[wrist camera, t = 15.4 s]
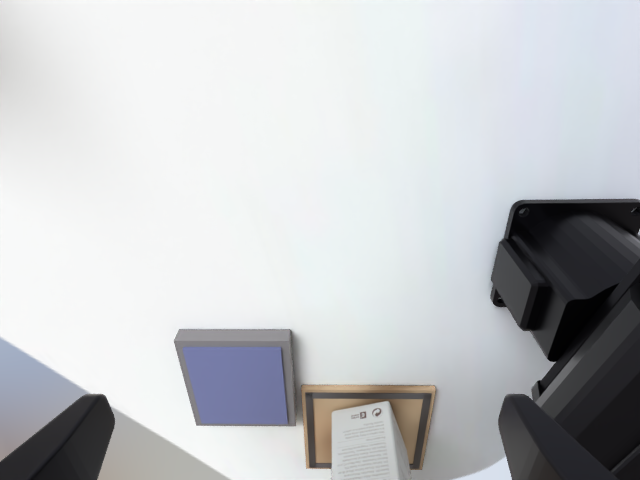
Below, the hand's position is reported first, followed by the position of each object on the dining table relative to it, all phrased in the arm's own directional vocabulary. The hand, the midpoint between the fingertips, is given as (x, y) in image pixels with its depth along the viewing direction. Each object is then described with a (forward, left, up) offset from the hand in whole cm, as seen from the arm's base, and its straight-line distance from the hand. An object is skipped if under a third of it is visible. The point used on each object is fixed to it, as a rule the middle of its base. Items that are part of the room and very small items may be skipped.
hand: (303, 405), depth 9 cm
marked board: (-3, +19, -13) cm, 23 cm away
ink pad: (+5, +14, -13) cm, 20 cm away
